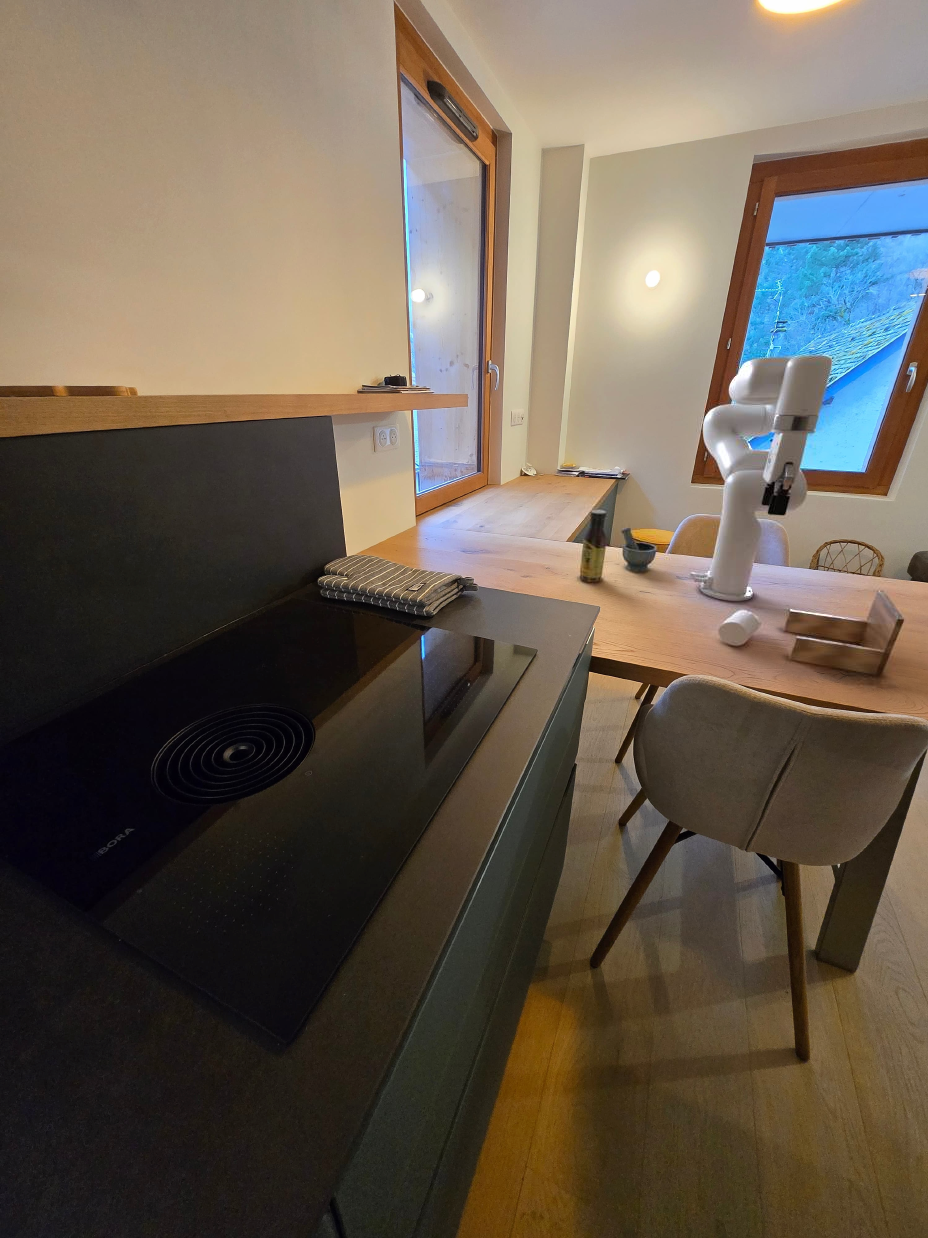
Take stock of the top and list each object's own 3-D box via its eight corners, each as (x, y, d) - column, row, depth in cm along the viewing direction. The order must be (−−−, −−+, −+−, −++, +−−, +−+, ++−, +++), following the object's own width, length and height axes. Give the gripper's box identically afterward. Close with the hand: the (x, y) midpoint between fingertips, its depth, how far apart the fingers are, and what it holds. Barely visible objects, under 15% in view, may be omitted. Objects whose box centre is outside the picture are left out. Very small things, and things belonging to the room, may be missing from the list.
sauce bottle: (576, 575, 144) (582, 508, 136) (597, 575, 145) (604, 507, 136) (583, 584, 139) (590, 514, 130) (605, 583, 139) (613, 513, 130)
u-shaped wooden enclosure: (789, 659, 100) (806, 605, 95) (783, 629, 112) (798, 579, 107) (881, 676, 94) (904, 619, 89) (863, 642, 106) (883, 590, 101)
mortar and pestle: (658, 567, 150) (665, 529, 144) (646, 576, 143) (652, 536, 138) (624, 560, 156) (628, 523, 151) (610, 568, 150) (615, 529, 145)
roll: (763, 630, 111) (769, 608, 109) (744, 649, 104) (751, 625, 101) (735, 622, 115) (740, 600, 113) (715, 640, 108) (720, 617, 105)
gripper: (766, 422, 107) (748, 501, 115) (779, 427, 93) (757, 517, 100) (806, 422, 105) (785, 503, 112) (826, 427, 90) (800, 520, 97)
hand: (772, 509), depth 106 cm, fingers open, 9 cm apart
